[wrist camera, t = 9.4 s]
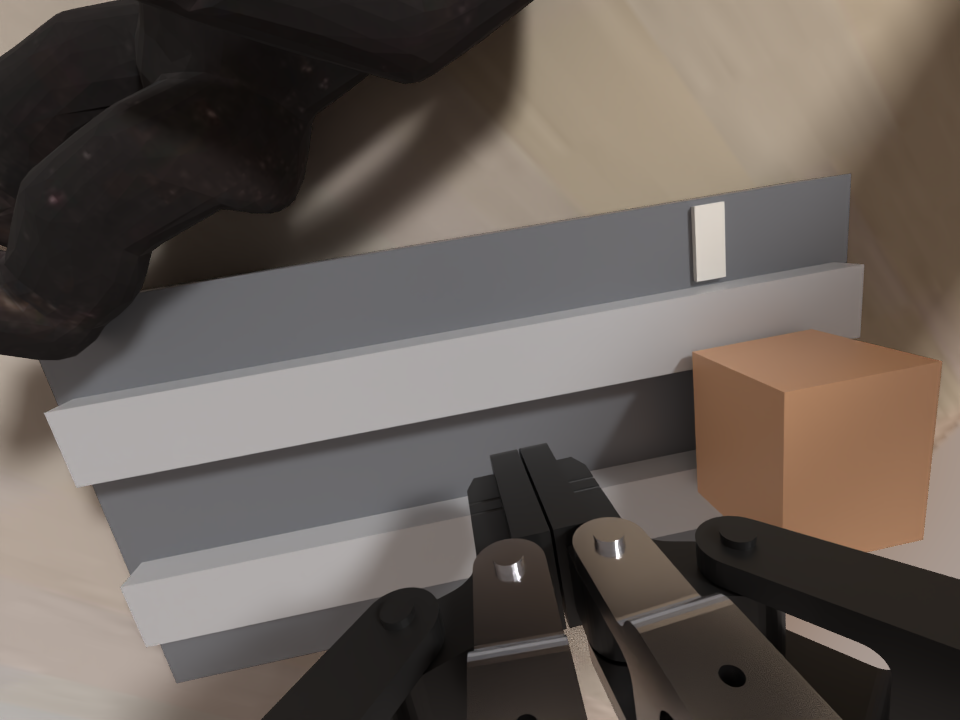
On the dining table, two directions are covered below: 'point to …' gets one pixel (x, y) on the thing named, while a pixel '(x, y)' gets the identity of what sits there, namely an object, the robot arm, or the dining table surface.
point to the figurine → (176, 132)
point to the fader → (818, 436)
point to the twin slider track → (418, 403)
